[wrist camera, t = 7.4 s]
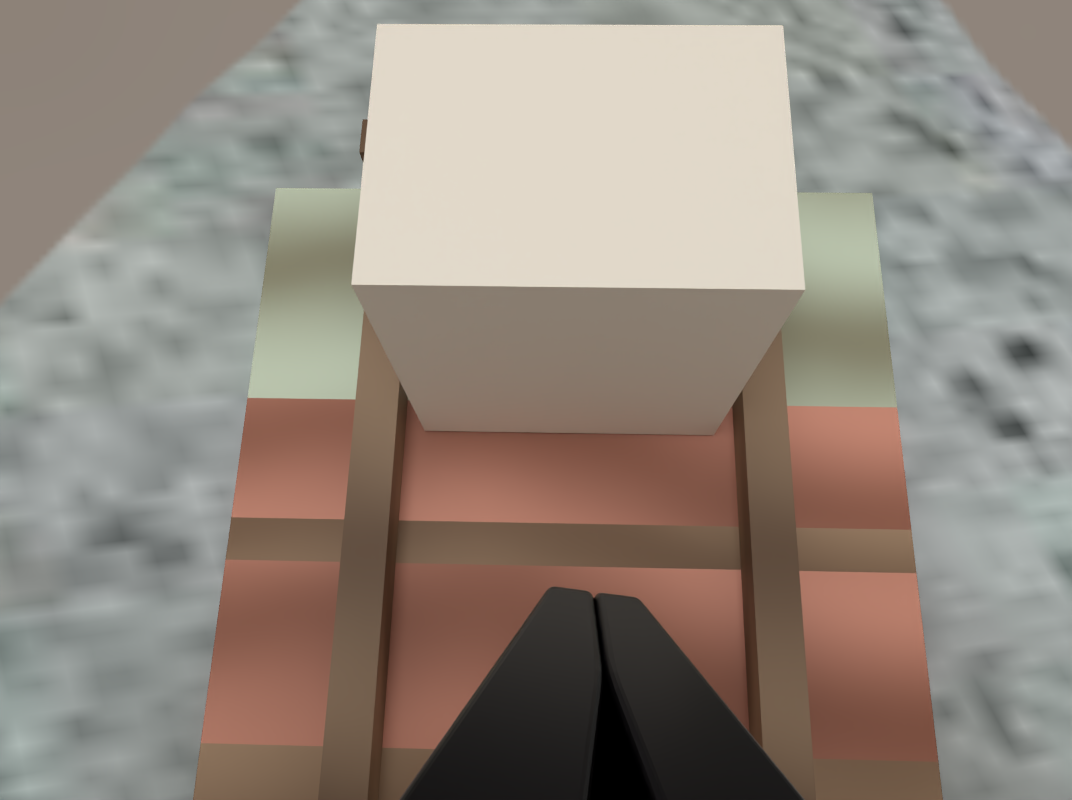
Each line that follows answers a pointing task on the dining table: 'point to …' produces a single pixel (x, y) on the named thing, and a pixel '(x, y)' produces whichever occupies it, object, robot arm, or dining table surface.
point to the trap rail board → (562, 540)
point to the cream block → (577, 222)
